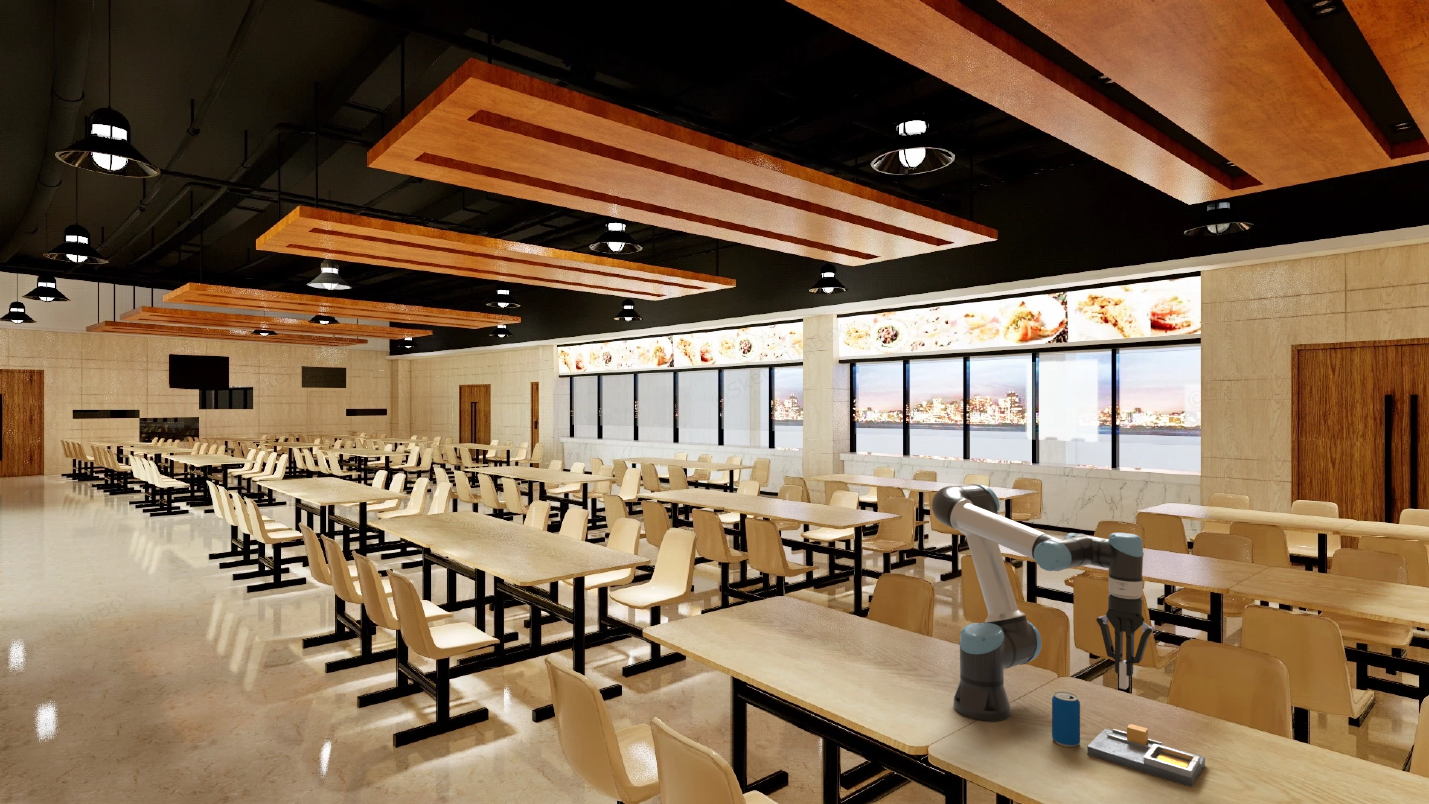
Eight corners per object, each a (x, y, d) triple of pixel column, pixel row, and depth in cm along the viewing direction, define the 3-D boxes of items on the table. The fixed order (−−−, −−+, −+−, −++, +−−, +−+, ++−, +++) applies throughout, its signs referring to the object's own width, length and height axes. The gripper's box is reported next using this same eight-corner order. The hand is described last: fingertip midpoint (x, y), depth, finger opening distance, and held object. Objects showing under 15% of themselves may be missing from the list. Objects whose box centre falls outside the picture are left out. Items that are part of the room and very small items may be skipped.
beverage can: (1083, 749, 180) (1083, 701, 180) (1055, 747, 181) (1055, 699, 181) (1075, 738, 186) (1075, 691, 186) (1049, 735, 187) (1049, 689, 188)
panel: (1087, 754, 177) (1087, 740, 177) (1104, 736, 187) (1104, 722, 187) (1192, 787, 162) (1191, 772, 162) (1204, 765, 172) (1204, 751, 172)
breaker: (1126, 739, 180) (1126, 727, 180) (1130, 736, 182) (1130, 723, 182) (1145, 745, 177) (1144, 732, 177) (1148, 741, 179) (1147, 728, 179)
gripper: (1092, 592, 184) (1091, 684, 184) (1150, 603, 175) (1149, 699, 175) (1101, 587, 189) (1100, 676, 189) (1158, 597, 180) (1156, 690, 180)
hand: (1123, 687), depth 182 cm, fingers closed
